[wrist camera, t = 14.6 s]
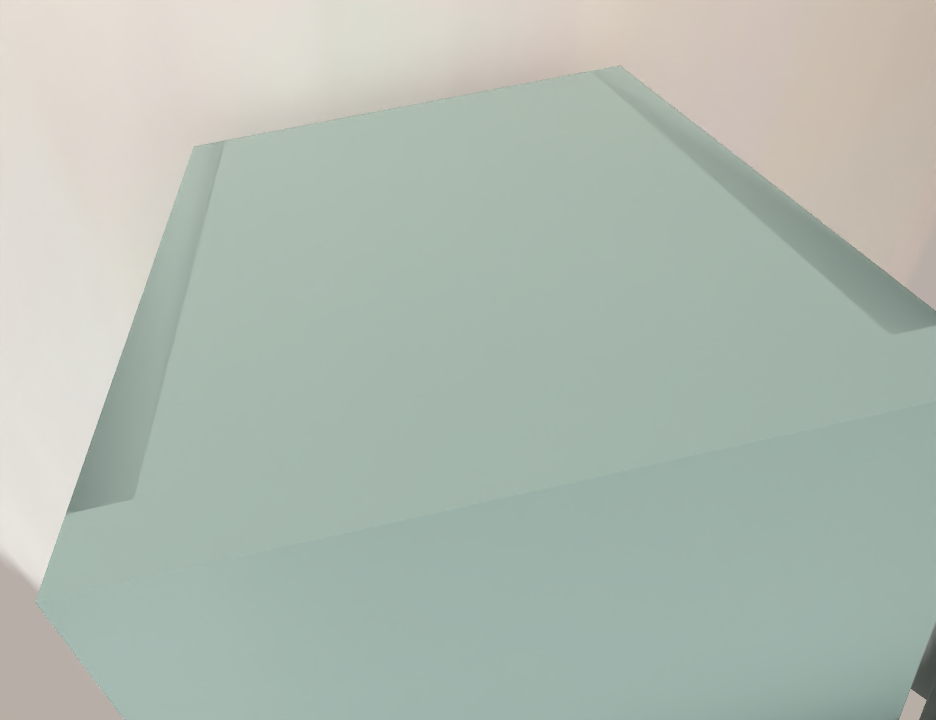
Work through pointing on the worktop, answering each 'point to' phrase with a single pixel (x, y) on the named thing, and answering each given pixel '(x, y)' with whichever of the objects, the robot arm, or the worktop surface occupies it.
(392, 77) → the worktop surface
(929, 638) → the robot arm
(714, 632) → the sage green upright block
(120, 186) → the worktop surface
